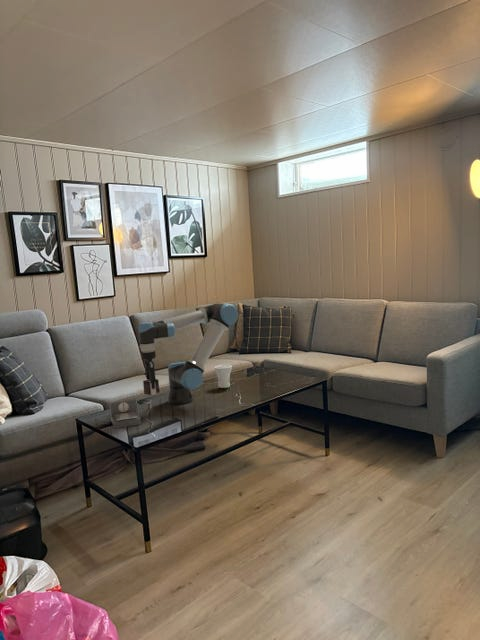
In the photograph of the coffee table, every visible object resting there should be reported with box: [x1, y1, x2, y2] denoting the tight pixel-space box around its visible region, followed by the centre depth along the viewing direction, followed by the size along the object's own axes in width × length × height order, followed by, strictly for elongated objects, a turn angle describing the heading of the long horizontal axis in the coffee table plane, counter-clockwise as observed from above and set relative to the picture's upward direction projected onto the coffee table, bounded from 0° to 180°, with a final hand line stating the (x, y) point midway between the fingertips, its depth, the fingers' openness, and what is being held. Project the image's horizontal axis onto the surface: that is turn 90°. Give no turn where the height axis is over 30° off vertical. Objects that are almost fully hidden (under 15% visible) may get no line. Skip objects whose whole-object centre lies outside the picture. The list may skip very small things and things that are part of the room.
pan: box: [115, 412, 137, 421], centre depth 242 cm, size 10×9×1 cm
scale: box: [109, 398, 142, 429], centre depth 243 cm, size 13×14×10 cm
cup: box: [214, 364, 233, 389], centre depth 305 cm, size 11×11×14 cm
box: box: [142, 378, 160, 396], centre depth 255 cm, size 6×6×7 cm
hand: (152, 392), depth 256 cm, fingers closed on box, 8 cm apart
